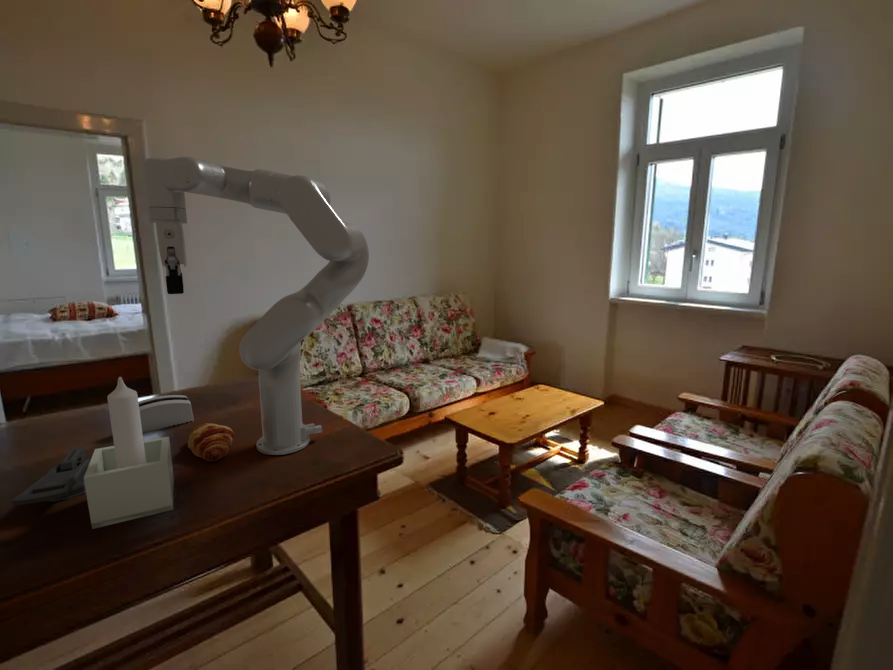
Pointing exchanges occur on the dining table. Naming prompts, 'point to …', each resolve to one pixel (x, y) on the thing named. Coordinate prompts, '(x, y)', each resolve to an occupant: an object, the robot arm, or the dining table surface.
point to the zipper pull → (59, 481)
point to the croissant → (210, 441)
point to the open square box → (129, 485)
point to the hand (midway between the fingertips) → (176, 291)
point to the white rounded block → (164, 412)
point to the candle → (126, 426)
